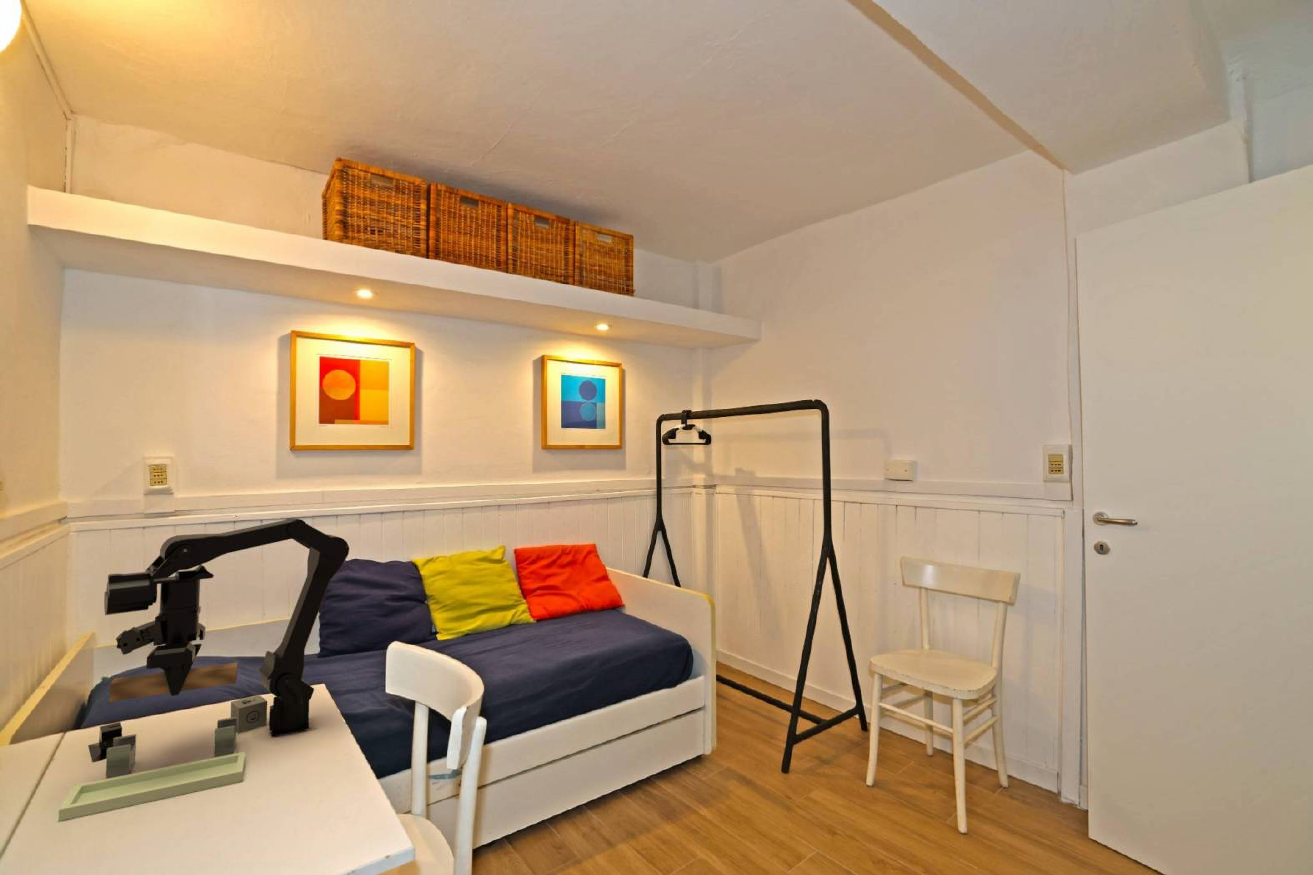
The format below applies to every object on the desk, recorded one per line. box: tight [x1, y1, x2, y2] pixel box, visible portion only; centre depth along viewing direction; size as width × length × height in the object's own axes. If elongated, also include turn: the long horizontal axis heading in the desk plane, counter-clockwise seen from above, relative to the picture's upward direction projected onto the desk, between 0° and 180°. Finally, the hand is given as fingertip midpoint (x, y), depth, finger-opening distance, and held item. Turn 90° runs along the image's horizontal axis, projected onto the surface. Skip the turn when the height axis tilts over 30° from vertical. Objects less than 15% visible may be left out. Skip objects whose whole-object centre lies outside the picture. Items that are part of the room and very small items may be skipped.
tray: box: [58, 751, 247, 822], centre depth 102 cm, size 23×8×2 cm, turn 121°
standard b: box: [105, 733, 137, 779], centre depth 107 cm, size 3×5×5 cm, turn 31°
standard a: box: [213, 717, 237, 758], centre depth 115 cm, size 3×5×5 cm, turn 31°
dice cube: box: [230, 694, 268, 734], centre depth 125 cm, size 5×5×5 cm
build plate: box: [87, 721, 123, 763], centre depth 115 cm, size 12×7×5 cm, turn 46°
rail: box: [108, 662, 239, 703], centre depth 111 cm, size 18×3×3 cm, turn 121°
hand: (176, 691), depth 111 cm, fingers closed on rail, 3 cm apart
